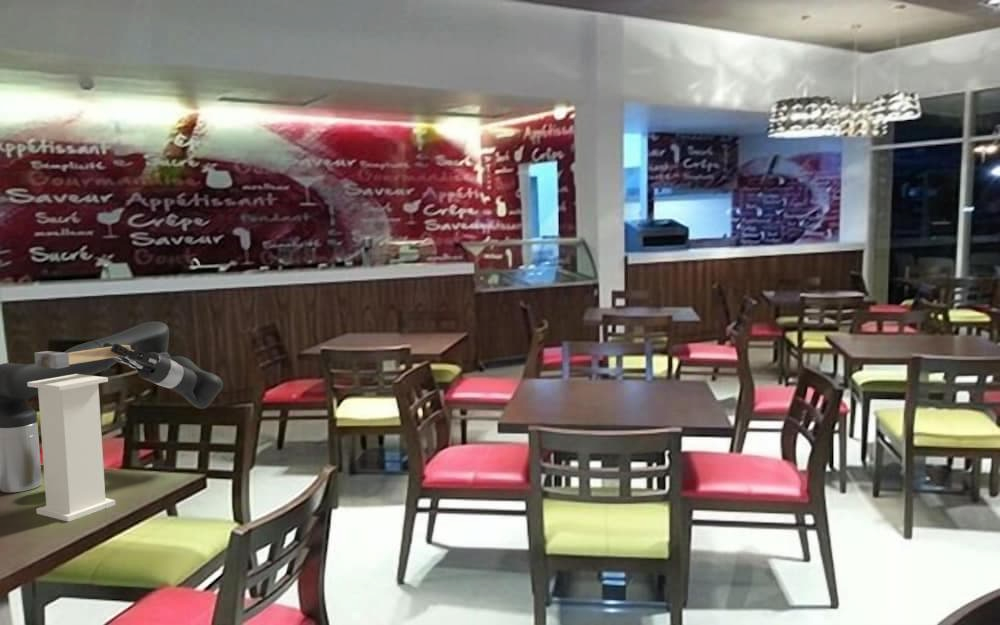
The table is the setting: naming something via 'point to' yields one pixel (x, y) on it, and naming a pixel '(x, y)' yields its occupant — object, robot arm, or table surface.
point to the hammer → (73, 357)
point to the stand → (71, 446)
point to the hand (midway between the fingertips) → (108, 346)
